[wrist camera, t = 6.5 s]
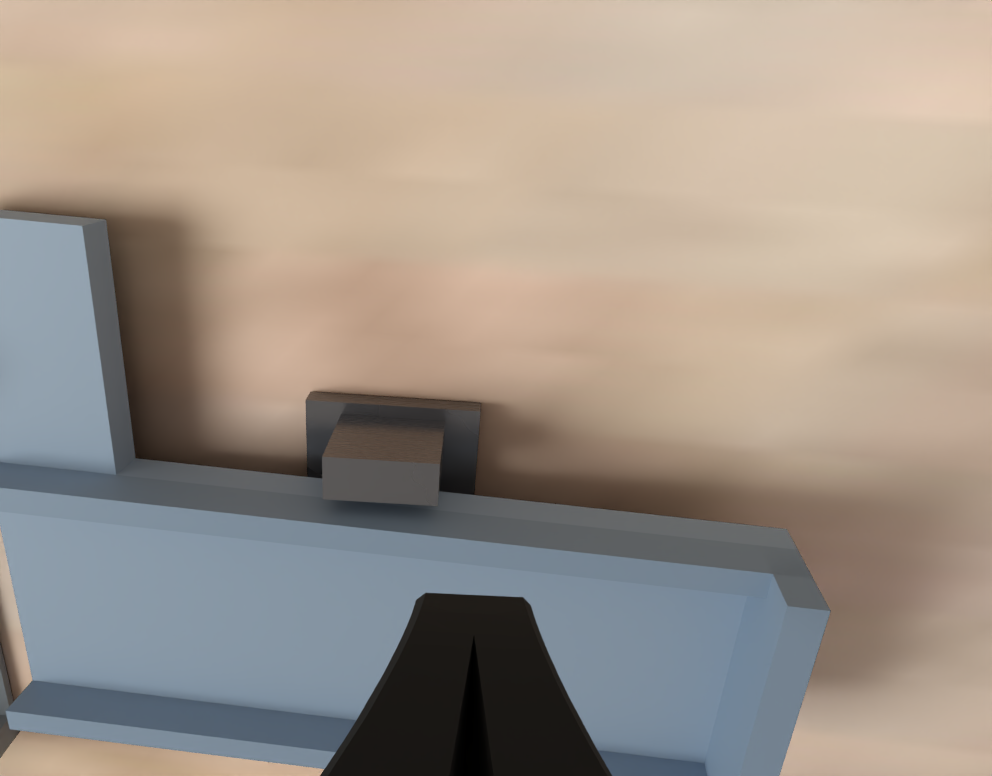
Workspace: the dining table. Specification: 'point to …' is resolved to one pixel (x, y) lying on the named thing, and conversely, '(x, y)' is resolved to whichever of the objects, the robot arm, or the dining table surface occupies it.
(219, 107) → the dining table surface
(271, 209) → the dining table surface
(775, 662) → the blue-grey piece
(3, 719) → the dish
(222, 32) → the dining table surface
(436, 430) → the stand
